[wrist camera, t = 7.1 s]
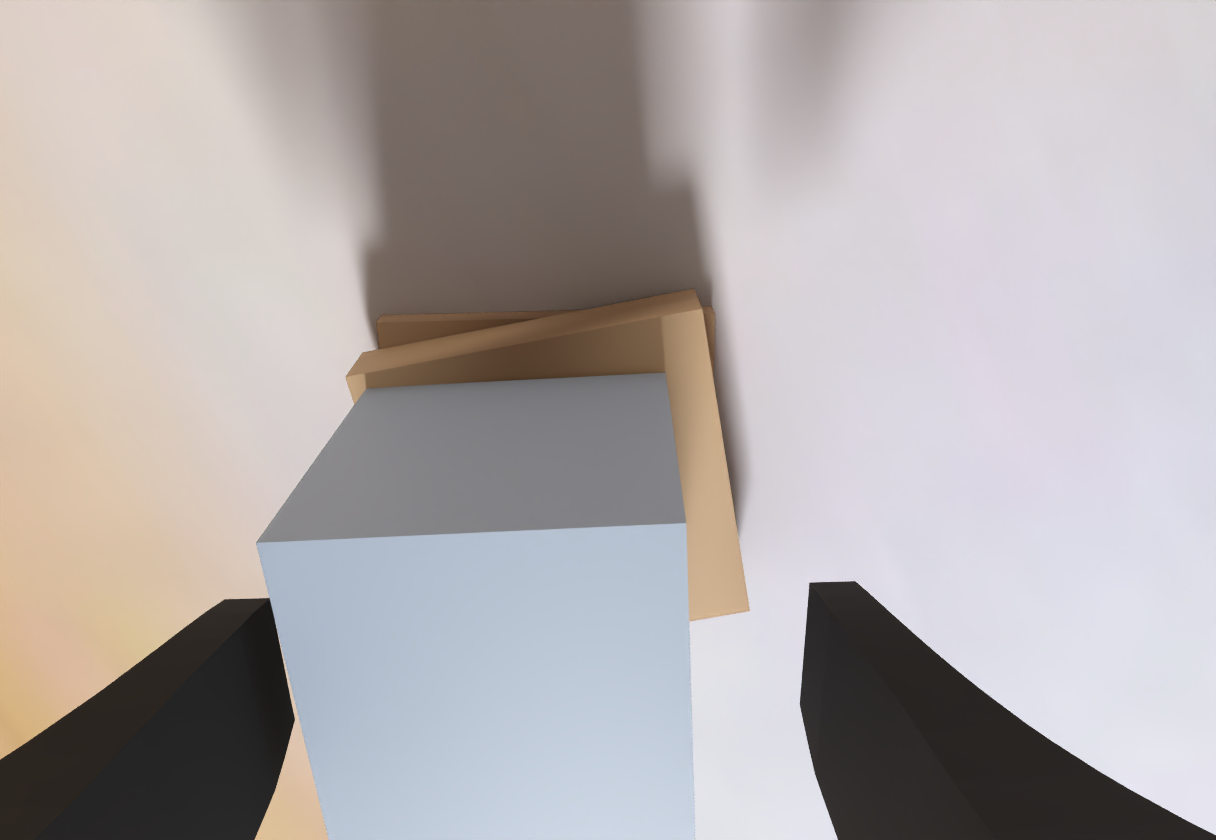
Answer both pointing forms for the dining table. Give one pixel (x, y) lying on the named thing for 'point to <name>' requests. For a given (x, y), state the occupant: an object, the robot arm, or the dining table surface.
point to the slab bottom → (478, 325)
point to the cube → (492, 613)
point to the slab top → (603, 346)
